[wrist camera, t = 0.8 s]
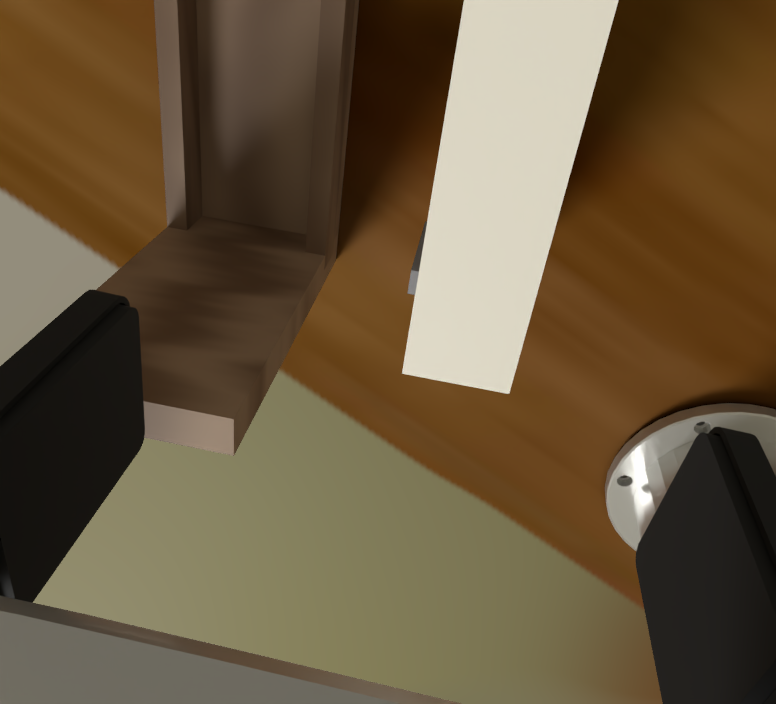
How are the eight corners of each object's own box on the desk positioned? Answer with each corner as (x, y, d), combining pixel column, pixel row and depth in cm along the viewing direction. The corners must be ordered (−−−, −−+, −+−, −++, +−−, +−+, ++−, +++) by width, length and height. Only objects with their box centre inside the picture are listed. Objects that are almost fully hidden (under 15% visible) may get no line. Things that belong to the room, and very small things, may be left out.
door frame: (377, -208, 26) (232, -351, 12) (336, 259, 36) (233, 455, 23) (174, -236, 26) (-179, -403, 13) (192, 233, 37) (10, 410, 23)
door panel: (587, -57, 27) (630, -44, 17) (509, 258, 35) (509, 393, 25) (478, -72, 27) (459, -70, 17) (425, 243, 35) (391, 371, 25)
